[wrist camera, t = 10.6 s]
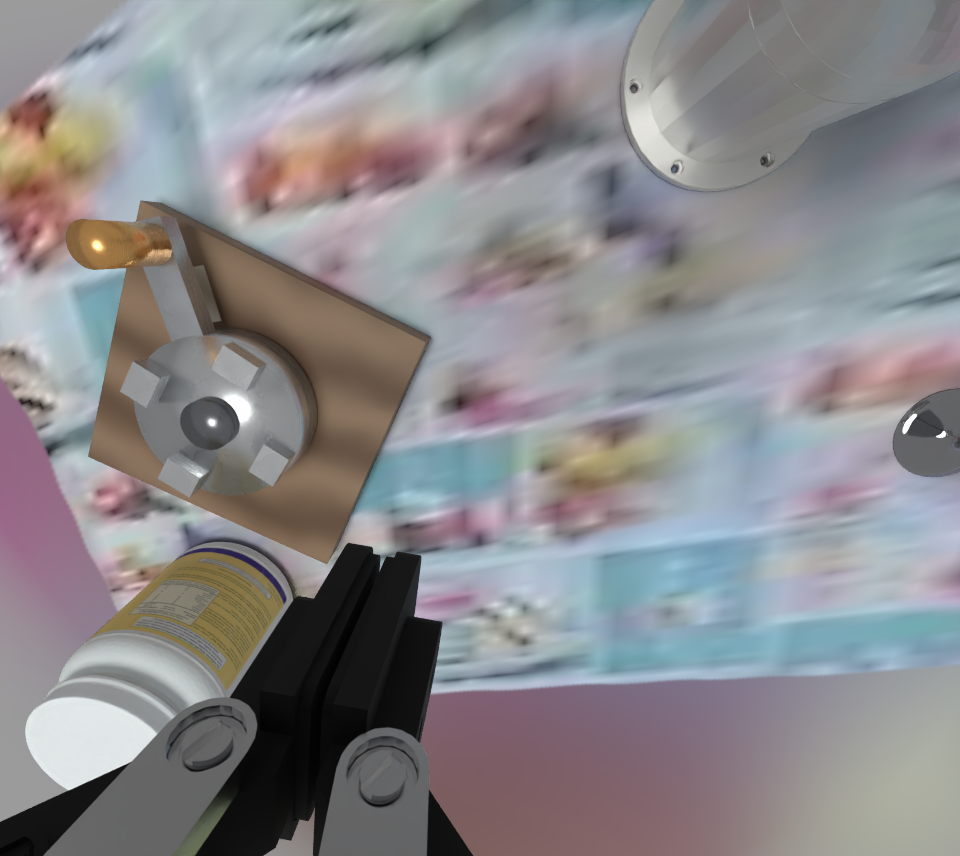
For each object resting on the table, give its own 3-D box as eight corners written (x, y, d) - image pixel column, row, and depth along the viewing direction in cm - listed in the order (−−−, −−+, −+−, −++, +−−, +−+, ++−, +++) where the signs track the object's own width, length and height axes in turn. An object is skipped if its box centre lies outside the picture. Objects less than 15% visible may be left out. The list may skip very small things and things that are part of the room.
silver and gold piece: (335, 464, 40) (289, 517, 33) (201, 482, 42) (126, 537, 34) (257, 204, 34) (176, 193, 26) (103, 238, 36) (-17, 237, 28)
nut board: (160, 202, 37) (138, 200, 35) (430, 337, 39) (425, 343, 36) (106, 447, 44) (86, 457, 42) (334, 551, 46) (325, 565, 44)
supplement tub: (164, 533, 47) (-18, 679, 31) (289, 537, 46) (166, 690, 30) (191, 636, 51) (43, 811, 36) (306, 643, 50) (206, 825, 35)
